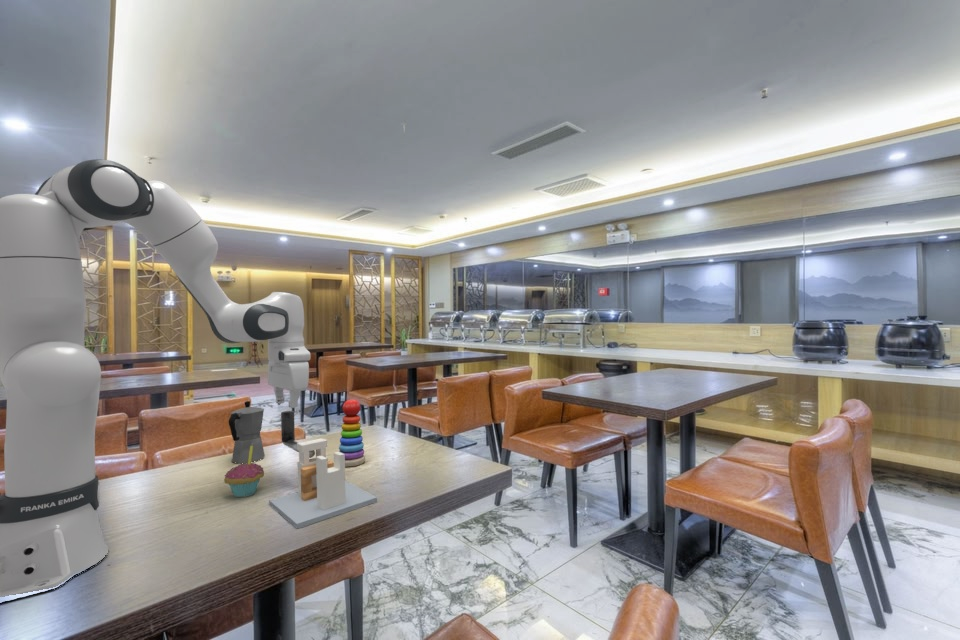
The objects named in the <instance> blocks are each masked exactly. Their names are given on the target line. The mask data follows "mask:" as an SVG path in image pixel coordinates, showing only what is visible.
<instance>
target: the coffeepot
mask: <svg viewBox="0 0 960 640" xmlns="http://www.w3.org/2000/svg"><path fill="white" fill-rule="evenodd" d="M244 405H245V406H244V407H242V408H238V409H237V410H233V411H231V412H230V413H229V414H230V417H229V419H228V425H229V430H230V433H231V437H232V440H233V441H234V445H233V450H232V458H231V463H233V462H236V463H248V459H249V451H250V446H251V445H252V443H253V445H252V446H253V451H252V458H251V462H253V463H255V462H254V461H256V462H258V461H257V460H259V461H261V460H260V459H262V460H263V459H264V458H265V449H264V445H263V441H262V437H261V432H262V426H263V419H264V411H265V408H262V407H257V406H256V407H255V406H253V407H252V406H250V405H251V401H248V400H247V401H244Z"/></svg>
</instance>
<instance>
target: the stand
mask: <svg viewBox="0 0 960 640" xmlns="http://www.w3.org/2000/svg"><path fill="white" fill-rule="evenodd" d="M327 448H328V440H327V439H325V438H317V439H312V440H306V441H301V442H298V443H297V450H298V451H299V452H298V461H297V492H293V493H288V494H286V495H282V496H279V497H278V496H277V497H276V498H275V497H274V498H271V499H268V505H269V506H270V507H271V508H272V509H274V510H275V511H276V512H277V513H278V514H280V515H281V516H282V517H283V518H284V519H285V520H286V521H288V523H289V524H291V525H292V526H293V527H294V528H295V529H301V528H304V527H308V526H310V525H313V524H316V523H319V522H322V521H324V520H325V521H326V520H328V519H330V518H333V517H335V516H339V515H342V514H345V513H348V512H350V511H354V510H357V509H359V508H364V507H366V506H368V505H371V504H372V505H373V504H374V503H377V502H378V497H377V496H375V495H374V494H372V493H370V492H368V491H366V490H364V489H362V488H361V487H360V486H357V485H355V484H353V483H351V482H349V481H348V480H346V467H345V454H343V453H341V452H339V451H336V452H333V463H334V467H331V468H327V462H328V461H329V460H328V459H329V458H328V457H327V450H326V449H327ZM312 450H314V451H315V457H312V458H309V451H312ZM312 465H316V472H317V474H316V475H313V476H312V488H315V487H317V498H314V499H310V500H307V501H304V500H302V499H301V468H303V467H307V466H312Z"/></svg>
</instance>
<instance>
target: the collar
mask: <svg viewBox="0 0 960 640" xmlns="http://www.w3.org/2000/svg"><path fill="white" fill-rule="evenodd" d="M331 467H334V461H331V460H328V462H327V468H331ZM316 474H317V472H316V465H312V466H307V467H303V468H301V499H302V500H304V501H307V500H310V499H314V498H317V487H315V488H312V476H313V475H316Z"/></svg>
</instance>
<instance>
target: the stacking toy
mask: <svg viewBox="0 0 960 640" xmlns="http://www.w3.org/2000/svg"><path fill="white" fill-rule="evenodd" d="M360 411H361V404H360V402H359V401H358V400H357V399H354V398H352V399H347V400H346V401H344V402H343V405H342V412H343V414H344V416H343V417H342V422H343V423H341V424H342V425H341V429H342V430H341V431H340V436H341V437H340V439H339V443H340V444H339V446H338V449H339V450H338V452H341V453H343V454H345V468H346V467H347V468H348V467H349V468H350V467H355V466H360V465H362V464H363V463H365V460H366V456H365V455H364V454H365V450H364V447H365V446H364V445H365V444H364V441H363V439H364V438H363V437H364V436H362V434H363V430H362V429H361V427H362V425H361V422H360V421H361V416H360V415H358V414H359V413H360Z"/></svg>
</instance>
